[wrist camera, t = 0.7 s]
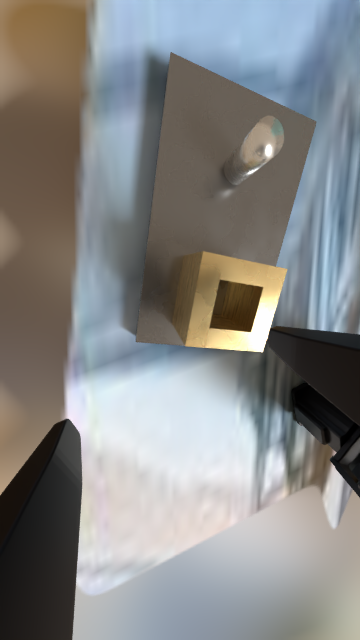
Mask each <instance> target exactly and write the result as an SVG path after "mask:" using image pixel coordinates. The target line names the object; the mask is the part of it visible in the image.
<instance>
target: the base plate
mask: <svg viewBox="0 0 360 640" xmlns="http://www.w3.org/2000/svg"><path fill="white" fill-rule="evenodd" d="M315 126H316V121H314V120H312V119H310V118H308V117H306V116H304V115H301V114H299V113H297V112H295V111H293V110H291V109H289V108H287V107H285V106H283V105H280V104H278V103H276V102H274V101H272V100H270V99H268V98H266V97H264V96H262V95H260V94H257V93H255V92H253V91H251V90H249V89H247V88H245V87H243V86H241V85H239V84H237V83H234V82H232V81H230V80H228V79H226V78H224V77H222V76H220V75H218V74H216V73H213V72H211V71H209V70H207V69H205V68H203V67H201V66H199V65H197V64H195V63H193V62H190V61H188V60H186V59H184V58H182V57H180V56H178V55H176V54H174V53H172V52H171V53H170V60H169V66H168V72H167V80H166V89H165V97H164V105H163V114H162V122H161V131H160V139H159V147H158V156H157V164H156V172H155V181H154V189H153V198H152V206H151V214H150V223H149V231H148V240H147V248H146V256H145V265H144V273H143V281H142V290H141V298H140V307H139V315H138V323H137V332H136V342H143V343H156V344H169V345H183V346H185V345H184V343H183V342H182V340H181V338H180V337H179V335H178V333H177V332H176V330H175V328H174V327H173V325H172V321H173V315H174V309H175V303H176V297H177V291H178V285H179V279H180V273H181V267H182V261H183V256H184V255H188V254H193V253H198V252H202V251H204V252H209V253H214V254H218V255H223V256H228V257H233V258H237V259H242V260H247V261H251V262H256V263H261V264H265V265H270V266H275V267H276V264H277V260H278V257H279V253H280V250H281V246H282V243H283V239H284V235H285V232H286V228H287V225H288V221H289V218H290V214H291V211H292V207H293V204H294V200H295V197H296V193H297V189H298V186H299V182H300V179H301V175H302V172H303V168H304V165H305V161H306V158H307V154H308V151H309V147H310V143H311V140H312V136H313V133H314V129H315ZM228 283H229V281H225V280H220V281H219V285H218V290H217V294H216V299H215V304H214V308H213V313H212V314H217V315H221V314H222V309H223V305H224V301H225V296H226V292H227V288H228Z"/></svg>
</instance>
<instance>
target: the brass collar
mask: <svg viewBox="0 0 360 640" xmlns="http://www.w3.org/2000/svg"><path fill="white" fill-rule="evenodd" d="M286 272H287V269H284V268H280V267H275V266H270V265H265V264H261V263H256V262H251V261H247V260H242V259H237V258H233V257H228V256H223V255H218V254H214V253H209V252H204V251H202V252H198V253H193V254H188V255H184V256H183V261H182V267H181V273H180V279H179V285H178V291H177V297H176V303H175V309H174V315H173V321H172V325H173V327H174V328H175V330H176V332H177V333H178V335H179V337H180V338H181V340H182V342H183V343H184V345H185V346H189V347H202V348H215V349H229V350H242V351H256V352H263V349H264V346H265V343H266V339H267V336H268V331H269V329H270V326H271V323H272V319H273V316H274V312H275V309H276V306H277V302H278V299H279V296H280V292H281V289H282V286H283V282H284V279H285V276H286ZM220 280H225V281H229V283H228V288H227V292H226V296H225V301H224V305H223V309H222V314H221V315H217V314H212V313H213V308H214V304H215V299H216V294H217V290H218V285H219V281H220Z"/></svg>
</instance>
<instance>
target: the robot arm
mask: <svg viewBox="0 0 360 640" xmlns="http://www.w3.org/2000/svg"><path fill="white" fill-rule="evenodd" d="M268 344H269V347H270V348H271V349H272V350H273V351H274V352H275V353H276V354H277V355H278V356H279V357H280V358H281V359H282V360H283V361H284V362H285V363H286V364H287V365H288V366H289V367H290V368H291V369H292V370H293V371H294V372H295V373H296V374H297V375H299V376H300V377H301V378H302V379H303V380H305V381H306V382H307V383H305V384H303V385H300V386H298V387H296V388H294V389H293V390H292V396H293V402H294V409H295V415H296V419H297V423H298V424H299V425H300V426H304V427H305V428H306V429H307V430H308V431H309V432H310V433H311V434H312V435H313V436H314V437H315V438H316V439H317V440H319V441H320V442H321V443H322V444H324V445H326V444H328V445H329V446H330V447H331V448H332V449H333V450H334V451H336V452H337V453H336V454H335V455H334V456H332V457H331V458H330V461H331V462H332V463H333V465H334V466H335V468H336V470H337V471H338V472H339V473H340V474H341V476H342V477H343V478H344V479H345V480H346V482H347V483H348V484H349V485H350V486H351V488H352V489H353V490H354V491H355V492H356V494H357V495H358V496H359V497H360V335H359V334H349V333H339V332H330V331H320V330H310V329H300V328H291V327H281V326H276V327H273V328H271V329H269V331H268ZM81 497H82V461H81V438H80V434H79V432H78V430H77V429H76V427H75V426H74V425H73V423H72V422H71V421H70V420H69V419H64V420H62V421H60V422H58V423H56V424H55V425H54V426H53V427H52V428H51V430H50V431H49V432H48V434H47V435H46V436H45V438H44V439H43V440H42V442H41V443H40V444H39V445H38V447H37V448H36V449H35V451H34V452H33V453H32V455H31V456H30V457H29V459H28V460H27V461H26V462H25V464H24V465H23V466H22V468H21V469H20V470H19V472H18V473H17V474H16V476H15V477H14V478H13V479H12V481H11V482H10V484H9V485H8V486H7V487H6V489H5V490H4V491H3V492H2V494H1V495H0V640H72V634H73V620H74V605H75V589H76V574H77V559H78V543H79V528H80V513H81Z"/></svg>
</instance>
